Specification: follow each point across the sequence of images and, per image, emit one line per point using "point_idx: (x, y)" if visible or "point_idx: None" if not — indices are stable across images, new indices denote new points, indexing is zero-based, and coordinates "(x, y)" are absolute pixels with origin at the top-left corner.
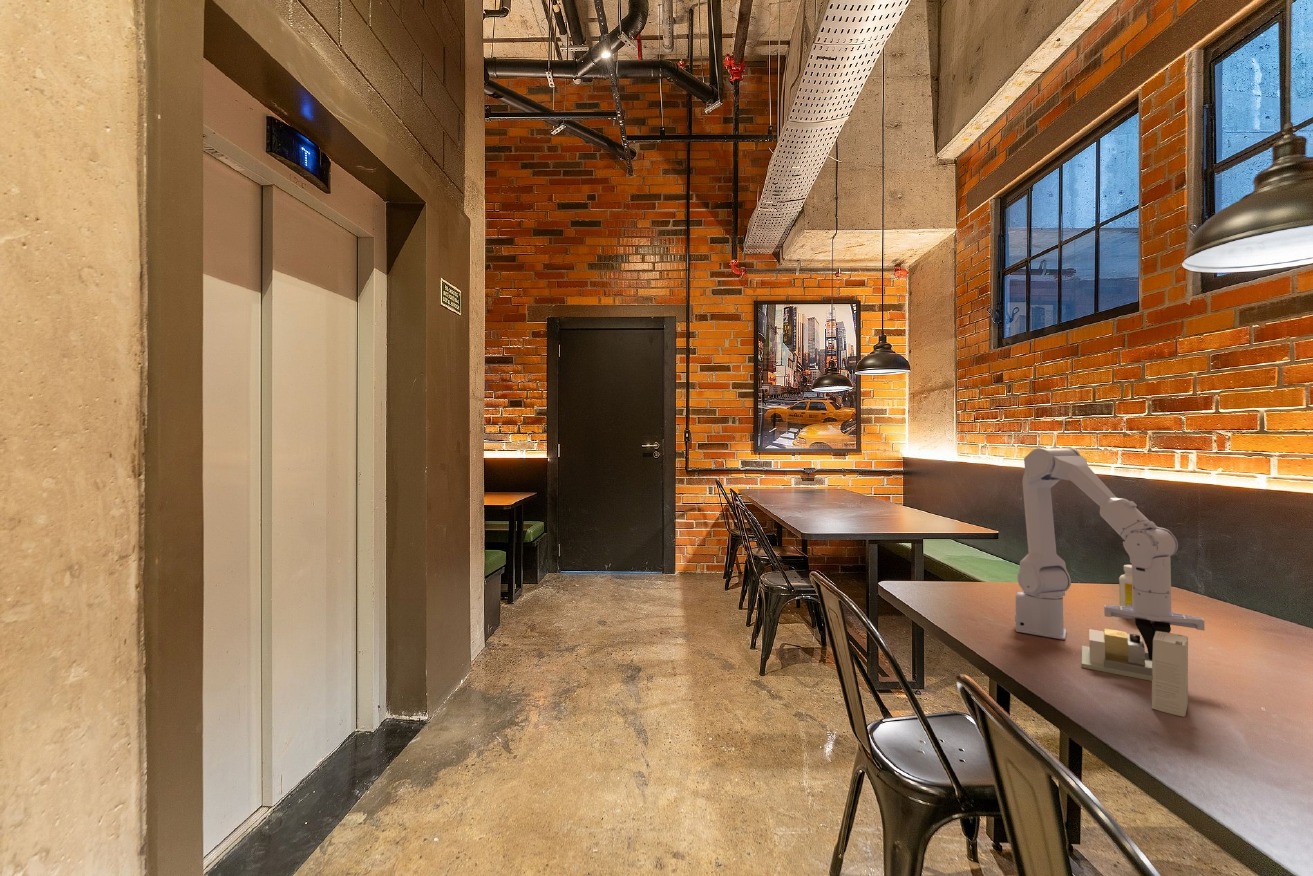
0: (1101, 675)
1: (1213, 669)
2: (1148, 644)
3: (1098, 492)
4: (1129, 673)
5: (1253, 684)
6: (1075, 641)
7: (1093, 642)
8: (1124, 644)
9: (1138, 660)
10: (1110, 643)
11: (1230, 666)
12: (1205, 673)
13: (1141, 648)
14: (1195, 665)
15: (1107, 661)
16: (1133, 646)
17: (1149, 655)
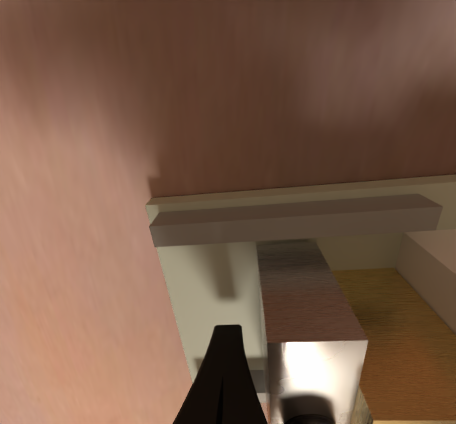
0: (433, 114)
1: (109, 390)
2: (245, 401)
3: None
4: (314, 192)
5: (16, 345)
6: None
7: None
8: (367, 365)
9: (286, 269)
10: (440, 354)
11: (89, 420)
12: (115, 358)
13: (284, 334)
14: (145, 395)
15: (426, 209)
16: (333, 336)
17: (240, 340)
